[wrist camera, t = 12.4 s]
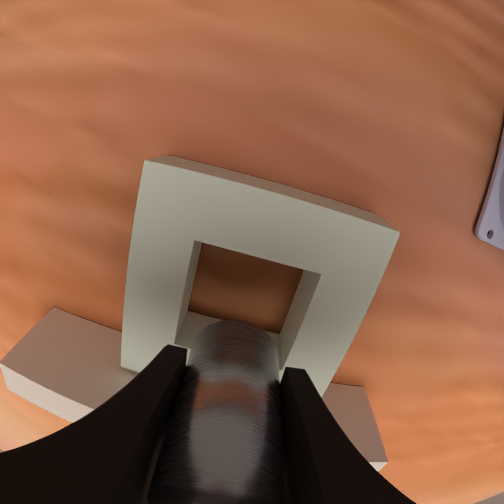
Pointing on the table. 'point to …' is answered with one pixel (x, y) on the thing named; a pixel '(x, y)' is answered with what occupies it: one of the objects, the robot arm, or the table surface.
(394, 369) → the table surface
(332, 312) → the socket block
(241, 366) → the dowel
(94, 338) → the board
